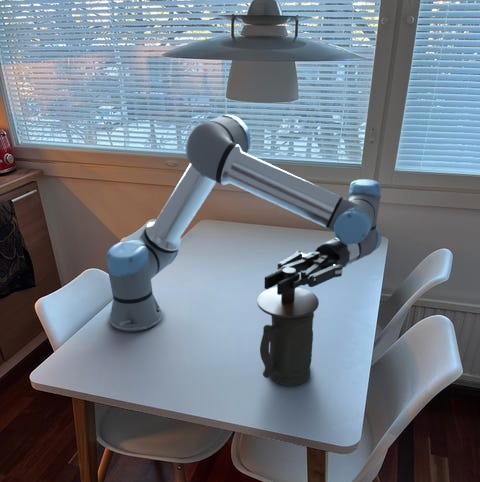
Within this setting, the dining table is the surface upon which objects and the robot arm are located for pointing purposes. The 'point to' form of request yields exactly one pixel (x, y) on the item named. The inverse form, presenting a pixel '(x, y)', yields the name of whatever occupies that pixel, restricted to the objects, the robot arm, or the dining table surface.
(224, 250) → the dining table surface
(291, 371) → the beer stein
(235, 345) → the dining table surface
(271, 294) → the lid
